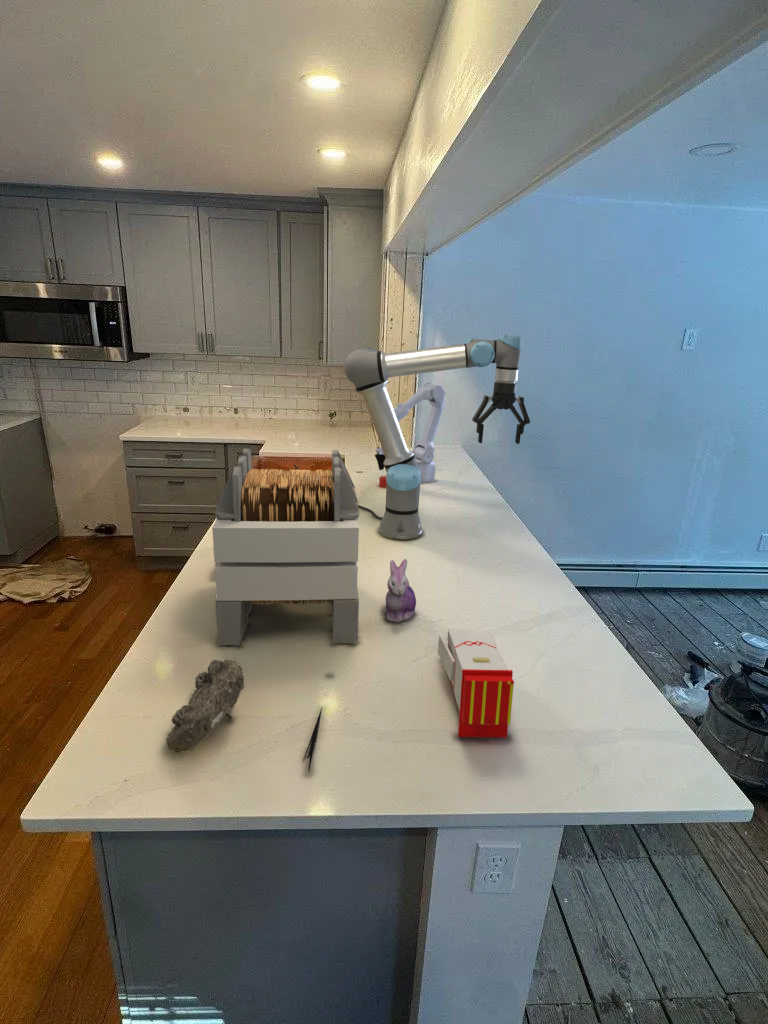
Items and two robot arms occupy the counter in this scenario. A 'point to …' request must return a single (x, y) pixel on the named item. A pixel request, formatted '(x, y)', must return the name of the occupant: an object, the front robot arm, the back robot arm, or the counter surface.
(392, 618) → the figurine
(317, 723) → the feather
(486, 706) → the toy
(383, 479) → the can
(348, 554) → the record crate
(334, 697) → the counter surface
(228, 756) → the counter surface
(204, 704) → the fossil
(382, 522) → the front robot arm
